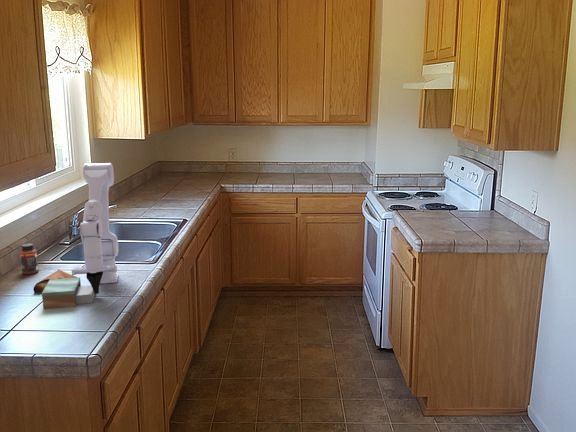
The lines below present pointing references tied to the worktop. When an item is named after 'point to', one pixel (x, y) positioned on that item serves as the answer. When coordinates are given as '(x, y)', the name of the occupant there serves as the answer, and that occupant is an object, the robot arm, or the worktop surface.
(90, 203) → the robot arm
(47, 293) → the overhang bridge
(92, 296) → the flat grey cuboid
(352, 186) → the worktop surface
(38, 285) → the sunglasses case
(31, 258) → the supplement bottle
